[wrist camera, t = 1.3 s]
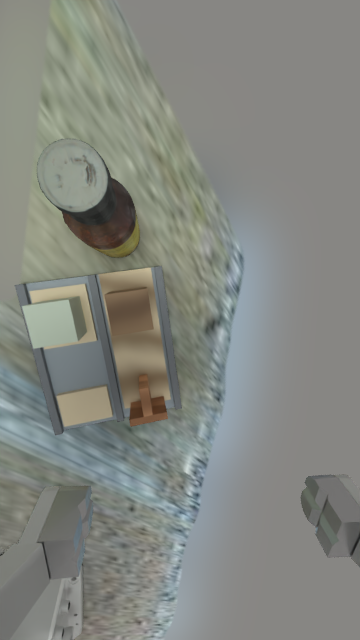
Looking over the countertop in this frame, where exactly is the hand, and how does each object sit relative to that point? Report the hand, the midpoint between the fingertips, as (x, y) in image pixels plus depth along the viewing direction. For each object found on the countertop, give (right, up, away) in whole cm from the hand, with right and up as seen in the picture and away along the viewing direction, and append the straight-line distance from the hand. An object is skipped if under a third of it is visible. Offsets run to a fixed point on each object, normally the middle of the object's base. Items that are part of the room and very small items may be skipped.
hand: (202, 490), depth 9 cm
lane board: (-12, +2, +27) cm, 29 cm away
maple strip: (-7, +3, +26) cm, 27 cm away
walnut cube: (-8, +8, +24) cm, 27 cm away
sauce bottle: (-10, +18, +24) cm, 32 cm away
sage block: (-16, +7, +23) cm, 29 cm away
